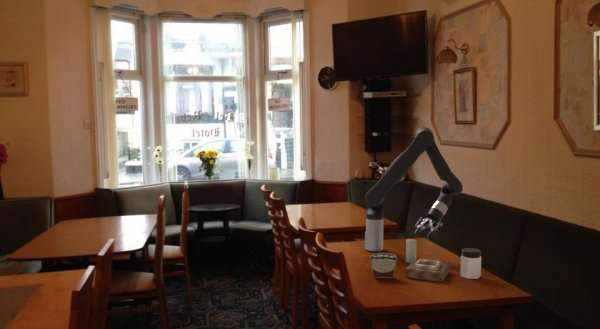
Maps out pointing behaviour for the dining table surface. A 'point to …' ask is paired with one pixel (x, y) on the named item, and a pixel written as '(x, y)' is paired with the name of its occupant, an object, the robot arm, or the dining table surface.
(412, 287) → the dining table surface
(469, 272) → the jar
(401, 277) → the dining table surface
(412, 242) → the sage cylinder
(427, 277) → the display plinth
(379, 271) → the food container
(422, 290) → the dining table surface
